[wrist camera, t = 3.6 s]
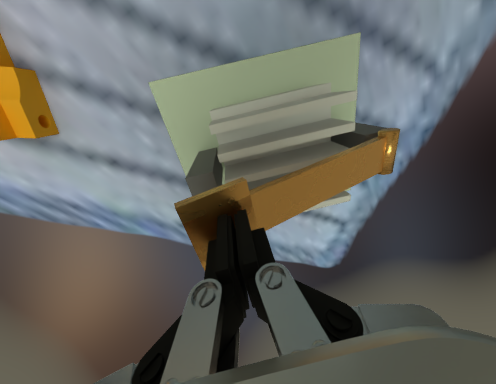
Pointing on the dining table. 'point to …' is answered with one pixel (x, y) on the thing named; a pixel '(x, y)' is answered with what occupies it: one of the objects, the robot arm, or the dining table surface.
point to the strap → (286, 190)
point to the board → (265, 115)
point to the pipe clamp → (22, 102)
